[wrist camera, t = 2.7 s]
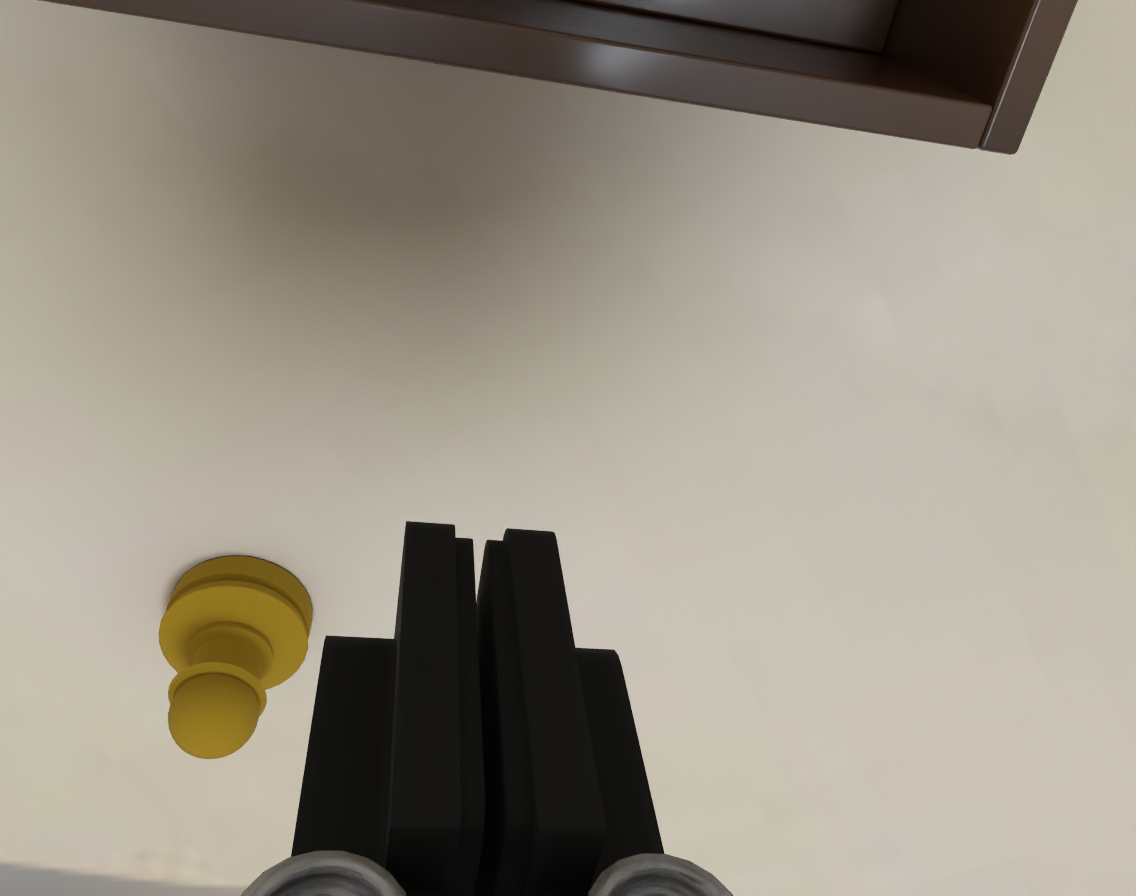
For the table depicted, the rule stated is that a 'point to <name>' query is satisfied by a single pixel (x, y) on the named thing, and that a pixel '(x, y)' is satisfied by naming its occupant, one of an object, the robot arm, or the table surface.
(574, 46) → the rack
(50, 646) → the table surface
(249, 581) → the chess piece
